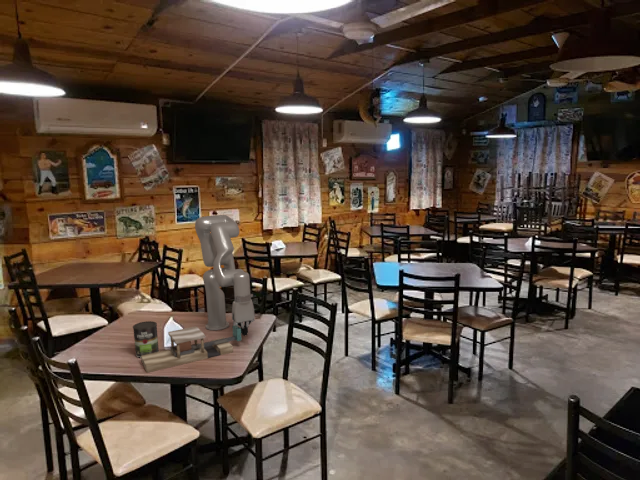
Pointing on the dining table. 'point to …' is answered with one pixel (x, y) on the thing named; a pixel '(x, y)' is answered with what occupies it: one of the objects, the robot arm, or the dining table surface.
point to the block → (185, 346)
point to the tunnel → (169, 360)
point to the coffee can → (145, 338)
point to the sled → (211, 342)
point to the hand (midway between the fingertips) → (244, 334)
